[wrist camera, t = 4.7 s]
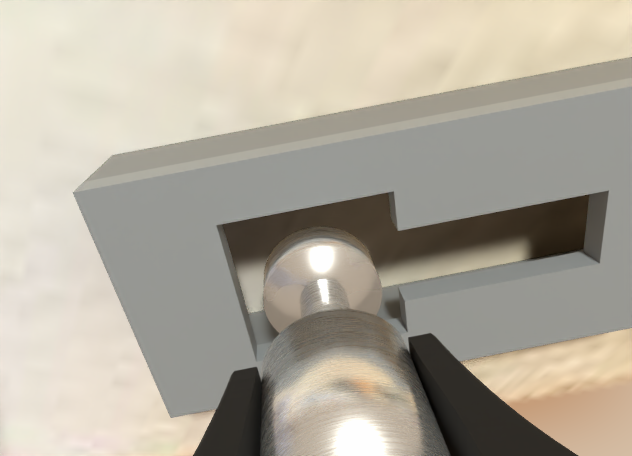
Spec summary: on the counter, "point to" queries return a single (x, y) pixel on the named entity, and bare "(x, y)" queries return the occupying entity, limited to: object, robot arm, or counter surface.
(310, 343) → the steel peg
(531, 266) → the keyhole plate
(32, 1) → the counter surface
